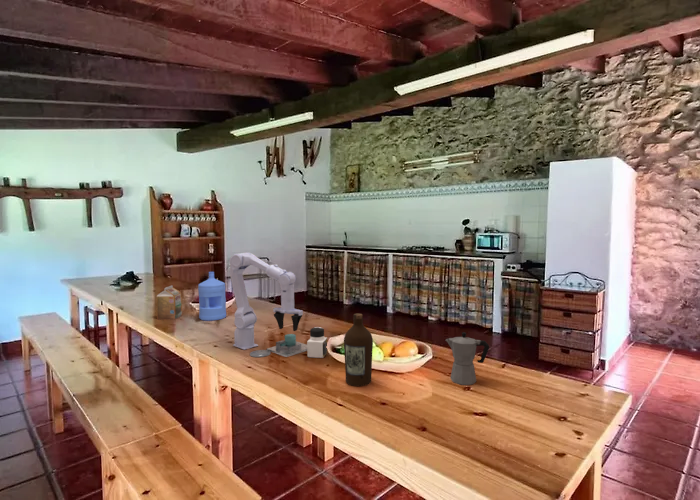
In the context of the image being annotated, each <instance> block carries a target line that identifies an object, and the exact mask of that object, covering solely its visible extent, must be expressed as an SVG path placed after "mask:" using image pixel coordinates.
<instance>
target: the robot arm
mask: <svg viewBox="0 0 700 500" xmlns="http://www.w3.org/2000/svg"><path fill="white" fill-rule="evenodd" d="M250 266H253V267H255V268H257V269H259V270H261V271H263V272H265V273H266V276H267V277H269V278H271V279H273V280H275V281H276V282H278V284H279V286H280V303H281V304H280V306H281V307H274V308H273V310H272V311H273V317H274V319H275V320H276V323H277V325H278V329H279V330H283V328H284V317H285V314H289V315H291V316H290V318H291V321H292V331H293V332H296V331H298V328H299V324H300V321H301V320H302V317H303V315H304V314H303V312H304V311H303V310H302V309H299V308H298V309H297V308H295V283H296V282H297V275H296V274H295V273H294V272H293V271H287V269H284V268H281V267H279V265H278V264H271V265H270V264H268V262H266V261H264V260H262V259H260V258H259V257H257V256H256V255H255V254H254V253H251V252H249V251H246V252H242V253H241V252H240V253H233V254H232V256H231V257H230V258H229V276H230V277H229V278H230V281H231V286H232V290H233V294H234V299H235V304H236V308H237V309H236V311H235V312H234V322H233V323H234V325H235V329H234V333H233V334H234V337H233V338H234V343H233V344H232V347H236V348H238V349H240V350H248V349H252V348H255V347H259V345H258V344H257V343H255V324H256V323H257V320H258V317H257V314H256V313H255V312H254V308H253V307H252V306H251V305H250V303H249V297H248V294H247V290H246V285H245V280H244V274H243V273H244V272H245V270H246V269H247V268H249V267H250Z"/></svg>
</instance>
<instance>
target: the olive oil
mask: <svg viewBox="0 0 700 500" xmlns="http://www.w3.org/2000/svg"><path fill="white" fill-rule="evenodd" d="M352 319H353V324H352V326H351V327H350V328H349V329H348V330H346V332H345V334H344V337H343V350H344V366H345V367H344V370H345V371H344V372H345V383H346V384H347V385H349V386H353V387H365V386H368V385H370V384H371V383H372V371H373V369H372V368H373V365H372V364H373V344H374V339H373V335H372V333H371V332H370V330H368V328H367V327H366V326H365V325H364V323H363V322H364V321H363V320H364V319H363V314H362V313H354V314H353V318H352Z"/></svg>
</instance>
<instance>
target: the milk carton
mask: <svg viewBox="0 0 700 500" xmlns="http://www.w3.org/2000/svg"><path fill="white" fill-rule="evenodd" d="M182 299H183V298H182V292H181V291H180V290H178V289H176V288H175V287H173V285H172V284H171V285H169V286H166V287H164V290H162V291H161V292H160V293H158V294H157V295H156V318H157V320H163V321H164V320H170V321H171V320H172V321H173V320H177V319H178V318H180V317H181V316H183V306H182Z"/></svg>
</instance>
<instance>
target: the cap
mask: <svg viewBox="0 0 700 500" xmlns="http://www.w3.org/2000/svg"><path fill="white" fill-rule="evenodd" d="M296 337H297V336H296V334H294V333H287V334H284V341H285V342H284V343H281V344H280V346H285V345H287V346H292V345H295V344H296V341H297V338H296Z"/></svg>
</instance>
